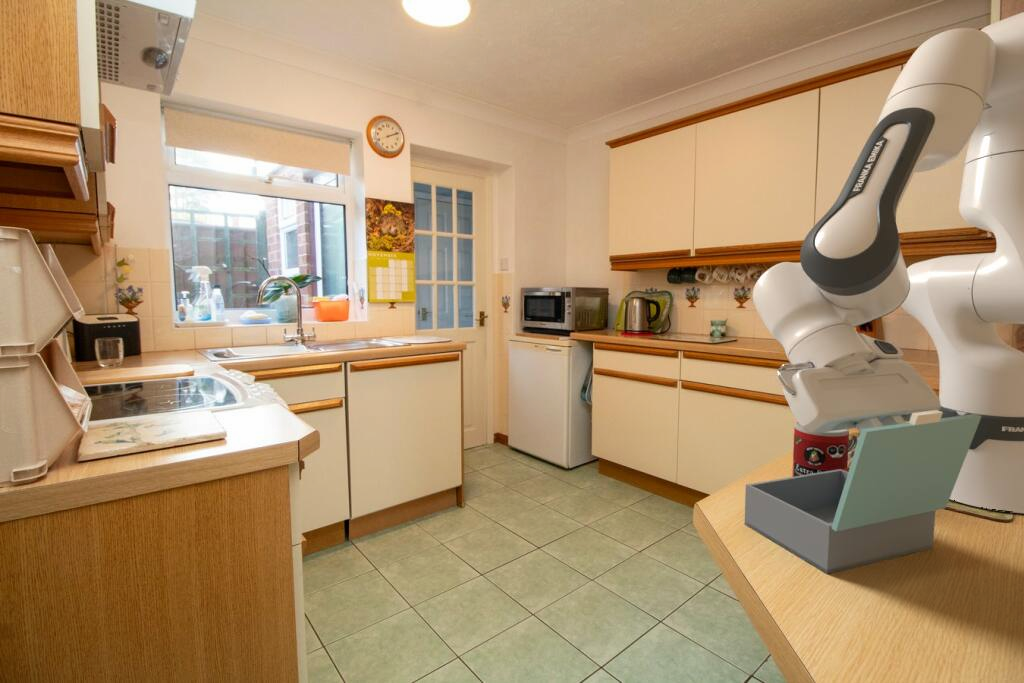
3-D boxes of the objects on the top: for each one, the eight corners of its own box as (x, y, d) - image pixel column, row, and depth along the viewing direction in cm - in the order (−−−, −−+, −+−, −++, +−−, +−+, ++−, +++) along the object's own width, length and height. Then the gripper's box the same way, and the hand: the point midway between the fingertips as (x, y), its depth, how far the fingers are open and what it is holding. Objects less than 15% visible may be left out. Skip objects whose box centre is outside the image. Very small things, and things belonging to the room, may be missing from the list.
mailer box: (838, 506, 74) (840, 469, 74) (932, 548, 62) (935, 503, 61) (744, 524, 69) (745, 484, 68) (827, 574, 57) (829, 526, 56)
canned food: (786, 489, 81) (788, 426, 80) (799, 476, 86) (802, 417, 85) (839, 503, 75) (843, 435, 74) (850, 488, 81) (854, 425, 80)
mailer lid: (979, 404, 57) (985, 406, 56) (940, 505, 61) (945, 508, 60) (864, 419, 51) (870, 421, 51) (831, 528, 56) (835, 531, 55)
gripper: (786, 350, 59) (857, 452, 51) (906, 343, 65) (987, 434, 57) (756, 379, 64) (816, 476, 56) (870, 370, 69) (940, 458, 61)
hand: (903, 455), depth 56 cm, fingers closed, pressing on mailer lid
